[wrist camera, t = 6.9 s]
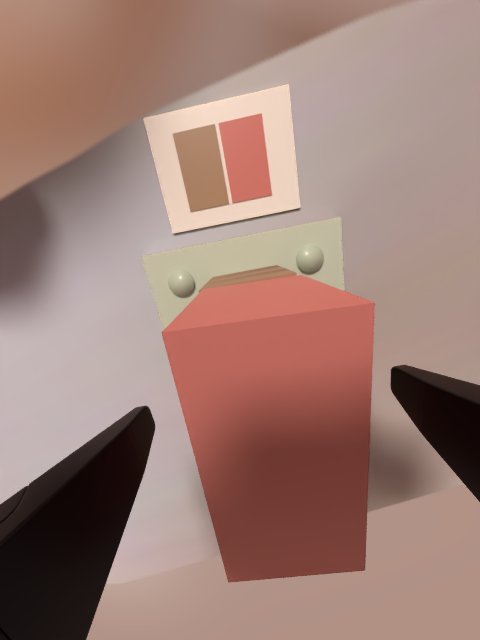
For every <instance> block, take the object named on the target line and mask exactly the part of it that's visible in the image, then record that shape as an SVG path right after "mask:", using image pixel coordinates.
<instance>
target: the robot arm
mask: <svg viewBox="0 0 480 640" xmlns="http://www.w3.org/2000/svg"><path fill="white" fill-rule="evenodd" d="M391 390H392V393H393V394H394V396H395V397H396V399H397V400H398V401H399V403H400V404H401V406H402V407H403V408H404V410H405V411H406V413H407V414H408V416H409V417H410V418H411V420H412V421H413V423H414V424H415V425H416V427H417V428H418V429H419V431H420V432H421V433H422V435H423V436H424V437H425V438H426V440H427V441H428V442H429V443H430V444H431V445H432V447H433V448H434V449H435V450H436V451H437V452H438V454H439V455H440V456H441V457H442V458H443V459H444V461H445V462H446V463H447V464H448V465H449V466H450V468H451V469H452V470H453V471H454V472H455V474H456V475H457V476H458V477H459V478H460V479H461V481H462V482H463V483H464V484H465V485H466V486H467V488H468V489H469V490H470V491H471V492H472V493H473V495H474V496H475V497H476V498H477V499H478V500H479V502H480V385H477V384H473V383H469V382H466V381H462V380H458V379H455V378H451V377H447V376H444V375H440V374H437V373H433V372H429V371H426V370H422V369H418V368H415V367H411V366H407V365H400V366H394V367H392V369H391ZM154 432H155V422H154V419H153V417H152V414H151V411H150V409H149V407H148V406H141V407H136V408H135V409H133V410H132V411H130V412H129V413H128V414H126V415H125V416H123V417H122V418H121V419H119V420H118V421H116V422H115V423H114V424H112V425H111V426H109V427H108V428H107V429H105V430H104V431H102V432H101V433H100V434H98V435H97V436H95V437H94V438H93V439H91V440H90V441H88V442H87V443H86V444H84V445H83V446H82V447H80V448H79V449H77V450H76V451H75V452H73V453H72V454H70V455H69V456H68V457H66V458H65V459H63V460H62V461H61V462H59V463H58V464H56V465H55V466H54V467H52V468H51V469H49V470H48V471H47V472H45V473H44V474H42V475H41V476H40V477H38V478H37V479H35V480H34V481H33V482H31V483H30V484H29V486H26V487H24V488H23V489H21V490H20V491H19V492H17V493H16V494H14V495H13V496H12V497H10V498H9V499H7V500H6V501H4V502H3V503H2V504H0V640H86V638H87V636H88V633H89V630H90V627H91V624H92V621H93V618H94V615H95V612H96V610H97V606H98V604H99V601H100V598H101V595H102V592H103V590H104V587H105V584H106V581H107V578H108V575H109V572H110V570H111V567H112V564H113V561H114V558H115V555H116V552H117V549H118V547H119V544H120V541H121V538H122V535H123V532H124V529H125V526H126V524H127V521H128V518H129V515H130V512H131V509H132V506H133V504H134V501H135V498H136V495H137V492H138V489H139V486H140V483H141V481H142V478H143V474H144V471H145V468H146V464H147V460H148V456H149V452H150V448H151V444H152V440H153V436H154Z"/></svg>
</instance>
